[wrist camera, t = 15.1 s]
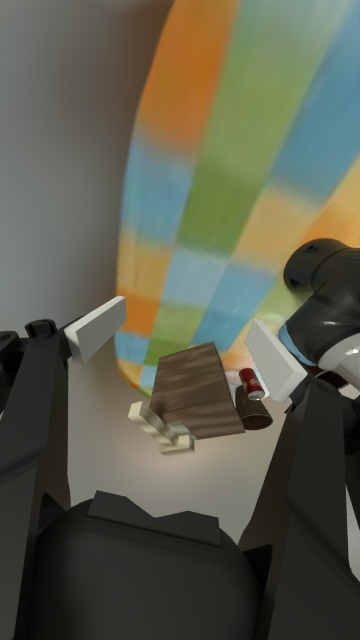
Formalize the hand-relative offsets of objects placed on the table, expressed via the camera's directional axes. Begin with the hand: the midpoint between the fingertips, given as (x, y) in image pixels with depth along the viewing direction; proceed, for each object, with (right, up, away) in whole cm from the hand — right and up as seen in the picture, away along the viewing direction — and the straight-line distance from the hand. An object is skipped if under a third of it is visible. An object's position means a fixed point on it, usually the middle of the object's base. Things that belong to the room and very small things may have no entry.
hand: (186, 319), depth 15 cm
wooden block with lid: (+4, -18, +51) cm, 54 cm away
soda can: (+32, -26, +55) cm, 68 cm away
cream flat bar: (-6, -30, +26) cm, 40 cm away
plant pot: (+33, -38, +62) cm, 80 cm away
